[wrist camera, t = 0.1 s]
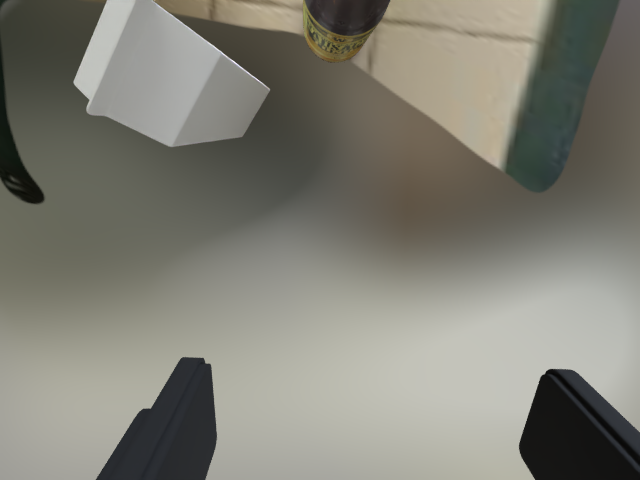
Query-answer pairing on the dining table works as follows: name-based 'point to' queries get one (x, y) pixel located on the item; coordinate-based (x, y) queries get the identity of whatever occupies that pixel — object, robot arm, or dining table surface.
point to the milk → (165, 78)
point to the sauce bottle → (340, 26)
